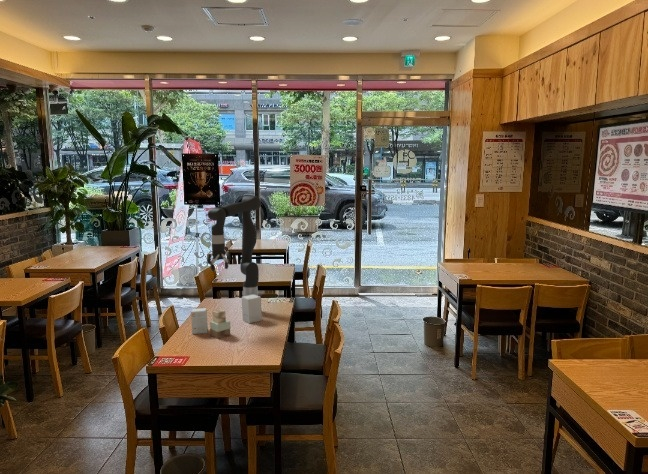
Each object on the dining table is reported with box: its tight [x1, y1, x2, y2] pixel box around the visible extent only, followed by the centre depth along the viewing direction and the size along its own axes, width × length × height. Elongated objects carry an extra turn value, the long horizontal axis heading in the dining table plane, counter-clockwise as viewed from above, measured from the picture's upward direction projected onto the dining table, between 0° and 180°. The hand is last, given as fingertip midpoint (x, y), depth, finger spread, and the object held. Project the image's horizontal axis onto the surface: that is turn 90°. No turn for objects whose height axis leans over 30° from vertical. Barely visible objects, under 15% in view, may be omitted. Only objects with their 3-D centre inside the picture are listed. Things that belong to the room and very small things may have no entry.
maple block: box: [212, 309, 227, 324], centre depth 251 cm, size 5×5×6 cm
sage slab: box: [209, 319, 232, 332], centre depth 252 cm, size 8×8×4 cm
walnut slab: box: [209, 328, 231, 339], centre depth 252 cm, size 8×8×4 cm
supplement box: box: [241, 295, 263, 324], centre depth 277 cm, size 9×9×15 cm
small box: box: [190, 307, 209, 335], centre depth 257 cm, size 8×6×13 cm
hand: (219, 269), depth 267 cm, fingers open, 8 cm apart
